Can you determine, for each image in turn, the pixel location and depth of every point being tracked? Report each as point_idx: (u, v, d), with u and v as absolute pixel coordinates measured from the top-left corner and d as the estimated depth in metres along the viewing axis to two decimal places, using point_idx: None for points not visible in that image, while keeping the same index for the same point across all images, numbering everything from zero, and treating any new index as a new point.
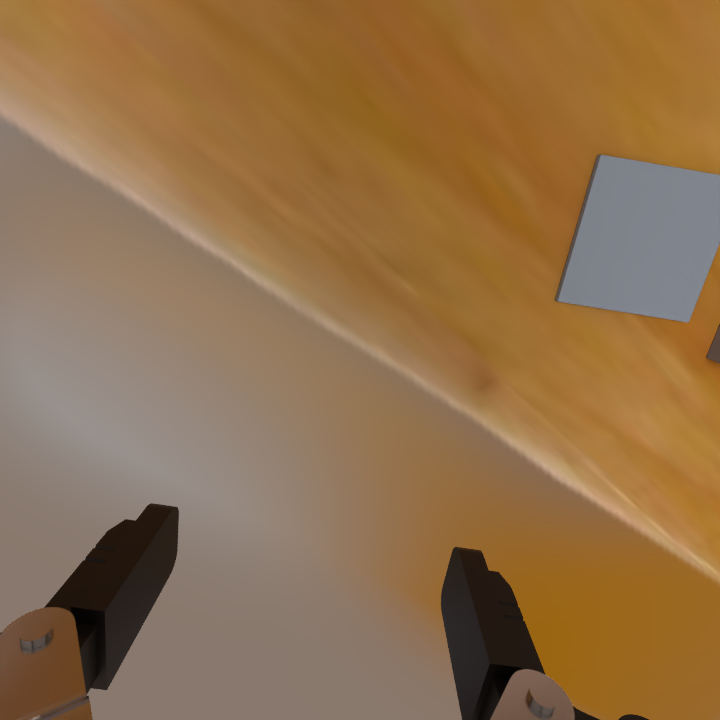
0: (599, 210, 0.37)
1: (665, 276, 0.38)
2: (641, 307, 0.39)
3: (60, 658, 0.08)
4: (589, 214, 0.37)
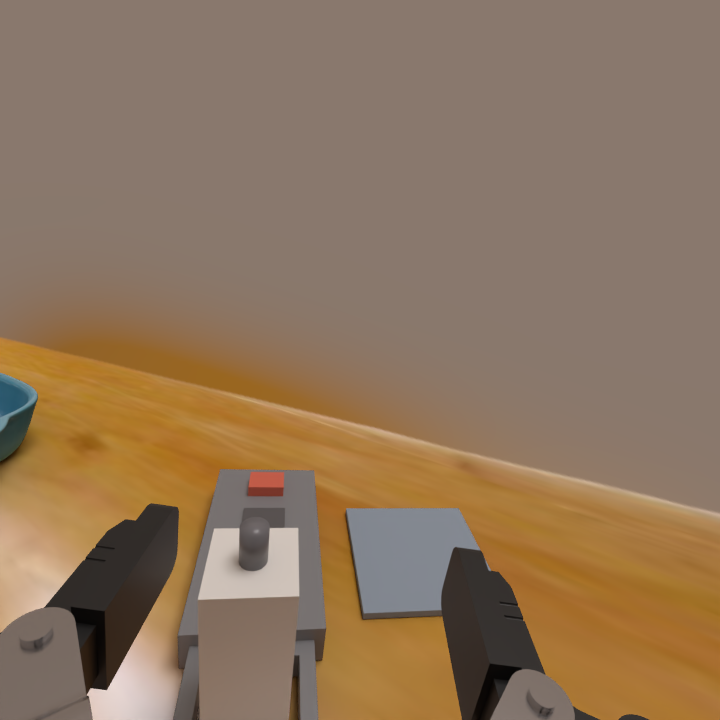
0: None
1: (386, 533, 0.42)
2: (391, 512, 0.45)
3: (60, 658, 0.08)
4: None
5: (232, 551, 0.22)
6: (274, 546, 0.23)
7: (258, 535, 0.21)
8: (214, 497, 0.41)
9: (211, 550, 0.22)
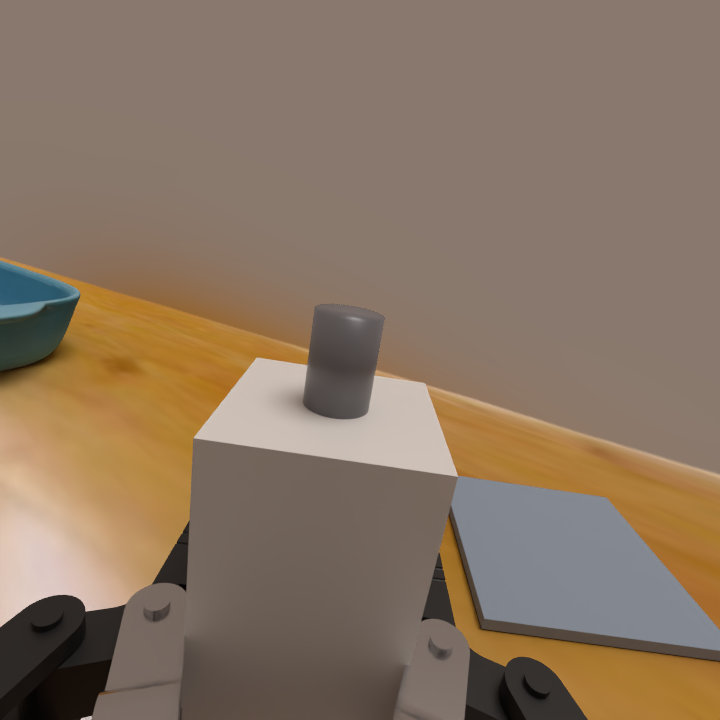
0: (658, 580, 0.24)
1: (505, 512, 0.28)
2: (507, 487, 0.31)
3: (183, 627, 0.09)
4: (666, 576, 0.25)
5: (290, 387, 0.10)
6: (380, 395, 0.10)
7: (358, 319, 0.08)
8: None
9: (246, 378, 0.10)
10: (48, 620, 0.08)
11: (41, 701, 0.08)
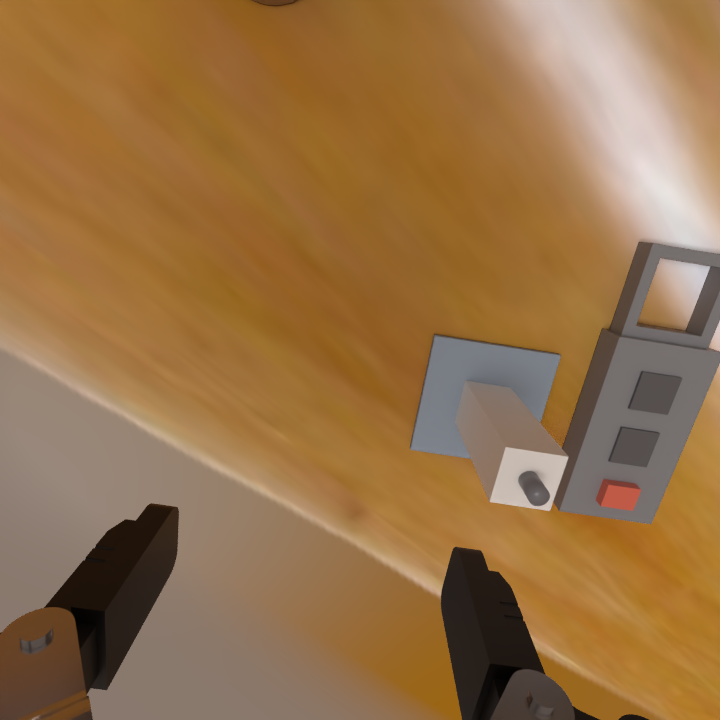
0: (438, 379, 0.42)
1: None
2: None
3: (60, 658, 0.08)
4: (430, 382, 0.43)
5: None
6: (511, 488, 0.31)
7: (538, 489, 0.29)
8: (666, 486, 0.43)
9: (554, 492, 0.31)
10: None
11: None
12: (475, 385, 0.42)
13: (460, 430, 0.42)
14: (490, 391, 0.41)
